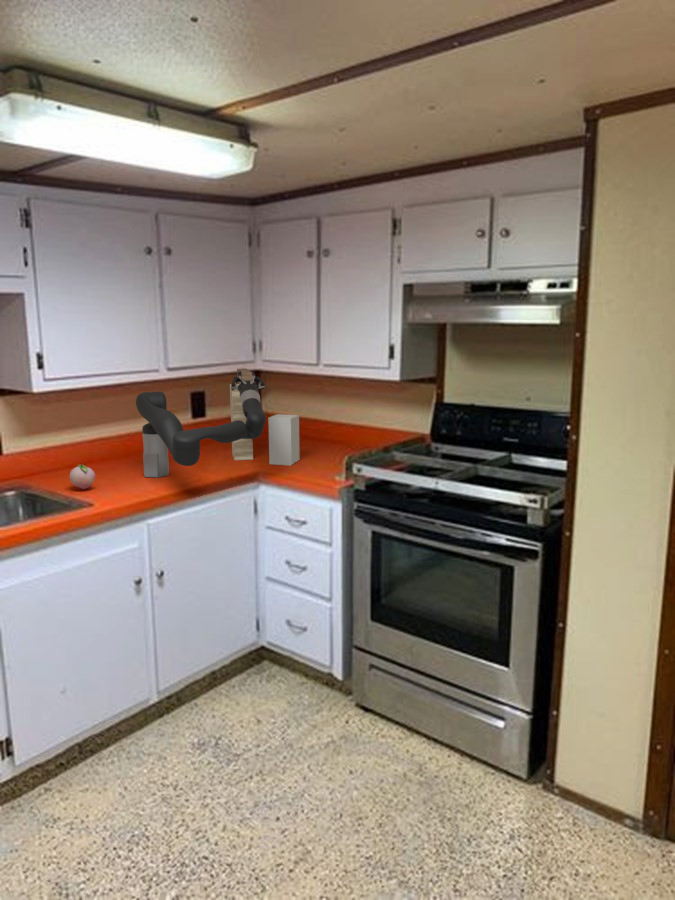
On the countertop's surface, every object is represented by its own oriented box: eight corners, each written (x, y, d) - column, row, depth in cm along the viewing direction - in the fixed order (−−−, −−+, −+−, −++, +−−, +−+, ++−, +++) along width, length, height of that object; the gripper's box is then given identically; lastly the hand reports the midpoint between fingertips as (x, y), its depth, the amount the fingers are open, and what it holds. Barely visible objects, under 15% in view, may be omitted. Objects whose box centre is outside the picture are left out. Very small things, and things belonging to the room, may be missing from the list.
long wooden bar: (252, 382, 277) (252, 372, 276) (242, 382, 276) (242, 373, 275) (246, 377, 297) (246, 368, 296) (237, 377, 296) (237, 368, 295)
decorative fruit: (66, 489, 252) (64, 463, 250) (87, 485, 258) (85, 459, 256) (77, 494, 246) (75, 467, 244) (99, 490, 252) (97, 463, 250)
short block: (291, 465, 290) (290, 418, 286) (269, 464, 292) (268, 417, 288) (299, 460, 299) (298, 415, 295) (278, 459, 302) (277, 414, 298)
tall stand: (253, 459, 302) (250, 386, 295) (234, 460, 300) (232, 387, 293) (250, 453, 313) (247, 383, 307) (232, 454, 311) (229, 384, 305)
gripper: (231, 406, 270) (227, 380, 283) (267, 405, 274) (262, 379, 286) (232, 390, 265) (228, 365, 278) (268, 389, 269) (263, 364, 281)
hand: (245, 372), depth 282 cm, fingers closed on long wooden bar, 4 cm apart
